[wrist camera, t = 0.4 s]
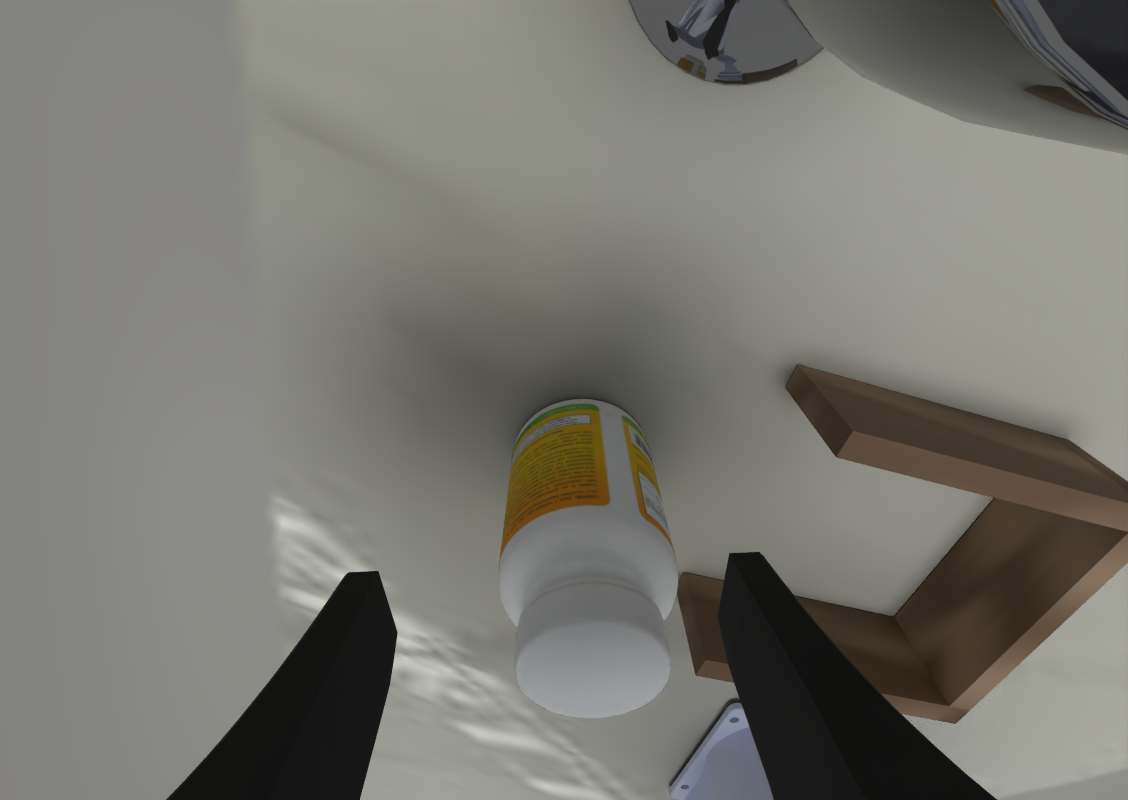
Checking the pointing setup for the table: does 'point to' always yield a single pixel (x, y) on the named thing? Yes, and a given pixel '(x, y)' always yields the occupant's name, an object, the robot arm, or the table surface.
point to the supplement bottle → (587, 562)
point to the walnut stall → (973, 566)
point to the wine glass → (926, 54)
